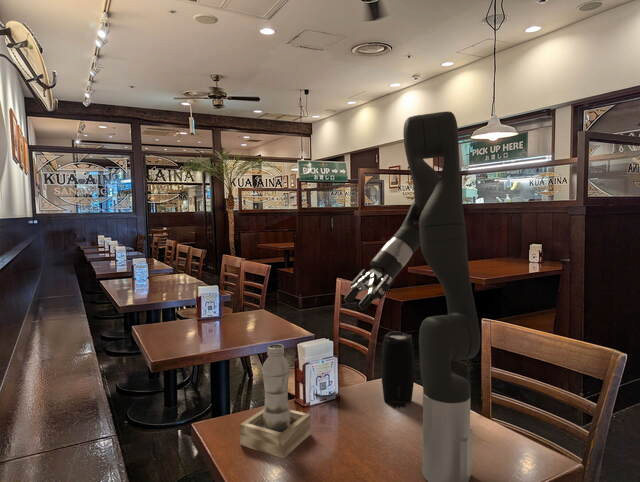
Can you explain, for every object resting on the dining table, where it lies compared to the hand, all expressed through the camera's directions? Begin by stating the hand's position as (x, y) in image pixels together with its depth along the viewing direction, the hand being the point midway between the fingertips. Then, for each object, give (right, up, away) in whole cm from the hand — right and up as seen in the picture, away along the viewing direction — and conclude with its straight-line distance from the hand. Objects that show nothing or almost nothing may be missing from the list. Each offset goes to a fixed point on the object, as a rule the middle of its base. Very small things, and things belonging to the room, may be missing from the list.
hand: (353, 305), depth 111 cm
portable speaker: (+14, -30, +14) cm, 36 cm away
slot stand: (-19, -31, -7) cm, 37 cm away
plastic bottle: (-19, -29, -8) cm, 35 cm away
